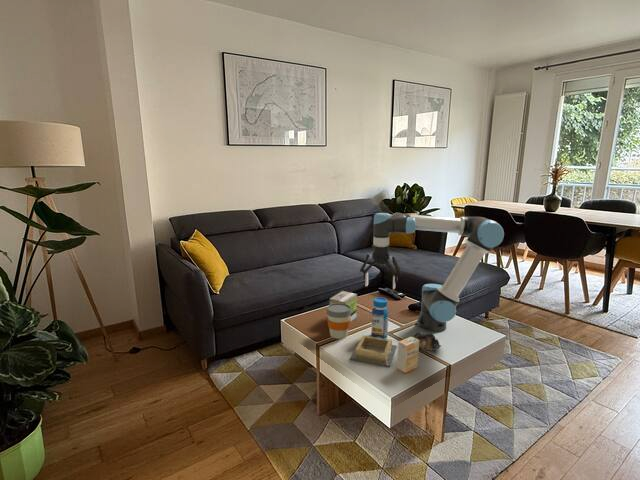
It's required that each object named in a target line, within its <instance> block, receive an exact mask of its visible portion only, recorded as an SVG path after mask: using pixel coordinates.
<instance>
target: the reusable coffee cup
mask: <svg viewBox="0 0 640 480" xmlns="http://www.w3.org/2000/svg"><path fill="white" fill-rule="evenodd" d="M326 315H327V318H326V319H327V320H326V321H327V327H328V329H329V335H330V337H331V338H332V339H335V338H336V340H342V339H346V338H347V337H348V335H349V328H350V326H351V322H352V321H351V317H350V315H351V307H350V306H349V305H347V304H344V303H334V304H330V303H329V304H328V305H327V307H326ZM350 321H351V322H350Z"/></svg>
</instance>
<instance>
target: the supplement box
mask: <svg viewBox="0 0 640 480" xmlns="http://www.w3.org/2000/svg"><path fill="white" fill-rule="evenodd" d="M397 344H398V345H397V364H396V365H397V366H396V368H397V370H398V371H400V372H401V373H403V374H407V373H409V372H410V371H413V370H415V369H416V368H418V364H419V363H418V362H419V348H420V347H419V340H418V339H416V338H414V337H412V336H409V337H406V338H403V339H402V340H399V341H398V342H397Z"/></svg>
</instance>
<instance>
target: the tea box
mask: <svg viewBox="0 0 640 480" xmlns="http://www.w3.org/2000/svg"><path fill="white" fill-rule="evenodd" d="M334 303H344V304H347V305H349V306H350V307H351V315H350V317H351V321H350V323H351V322H353V321H354V320H355V319H356V318H357V313H358V312H357V311H358V309H357V306H358V305H357V304H358V294H357V293H353V292H350V291H344V290H341V291H340V292H339V293H337V294H335V295H333V296H332V297H330V298H329V305H330V304H334Z"/></svg>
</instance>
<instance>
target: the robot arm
mask: <svg viewBox="0 0 640 480" xmlns="http://www.w3.org/2000/svg"><path fill="white" fill-rule="evenodd" d="M417 230H418V231H425V232H426V231H430V232H441V233H453V234H454V233H455V234H457V235H458V236H463V237H464V236H465V237H467V239H466V243H467V245H466V247H465V248H464V250H463V252H462V254H461V255H460V257H459V259H458V260H457V261H456V263H455V265H454V266H453V268H452V270H451V272H450V273H449V275H448V277H447V278H446V279H445V281H444V283H443V284H438V283H426V284H424V285H423V286H422V289H421V304H420V305H421V306H420V307H421V309H420V313H419V315H418V317H417V321H416V324H417V327H419V328H420V329H421V330H424V331H427V332H435V333H436V332H437V333H439V332H443V331H445V330H447V322H450V321H451V320H453V319H454V318H455V316H456V314H457V308H456V307H457V306H458V304H459V302H460V297H459V296H460V295H461V292H462V291H463V290H464V288H465V286H466V285H467V283H468V281H469V280H470V278H471V276H472V275H473V273H474V272H475V270H476V268H477V267H478V266H479V264H480V262H482V259H483V257H484V256H485V255H486V254H488V253H489V254H490V253H491V251H492V250H493V249H494V248H495V247H498V246H500V244H501V243H502V242H503V241H504V236H505V232H504V231H505V230H504V228H503V227H502V226H501V224H500V223H498V222H497V221H495V220H492V219H489V218H486V217H483V216H459V218H458V217H448V216H447V217H446V216H436V215H434V216H433V215H424V214H423V215H422V214H410V213H409V214H408V213H401V212H395V213H393V214H392V215H391V214H390V213H388V212H377V213H374V216H373V238H372V239H373V240H372V243H373V246H372V247H373V248H372V249H373V250H372V253H371V254H370V253H367V254H366V257H365V260H364V262H363V264H362V266H361V267H360V269H359V272H361V273H362V274H363V280H365V281H364V282H365V284H364V285H365V287H368V285H369V272H368V271H369V270H371V268H372V267H373V266H374V265H375V264H376V265H385V266H387V268H388V269H389V270H390V272H391V274H393V276H392V290H395V289H396V283H398V280H399V276H402V275H403V273H402V272H403V271H402V270H401V267H400V265H399V264H398V261H397V259H396V255H395V254H394V255H390V234H413V233H415V232H416V231H417ZM371 258H372V259H373V261H372V262H371V263H370V264H369V265H368V266H367V264H368V261H369V260H370V259H371ZM389 260H391V261H392V263H393V265H392V264H391V262H390V261H389ZM366 266H367V267H366ZM393 266H394V267H393Z"/></svg>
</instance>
